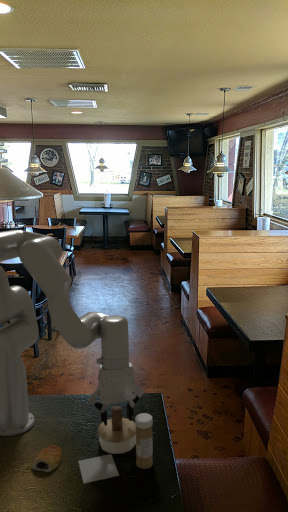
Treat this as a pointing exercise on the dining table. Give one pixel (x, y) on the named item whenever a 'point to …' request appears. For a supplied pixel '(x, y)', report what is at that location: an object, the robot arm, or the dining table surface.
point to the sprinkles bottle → (144, 440)
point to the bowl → (118, 445)
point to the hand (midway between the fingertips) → (117, 420)
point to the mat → (98, 468)
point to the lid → (117, 427)
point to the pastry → (47, 459)
